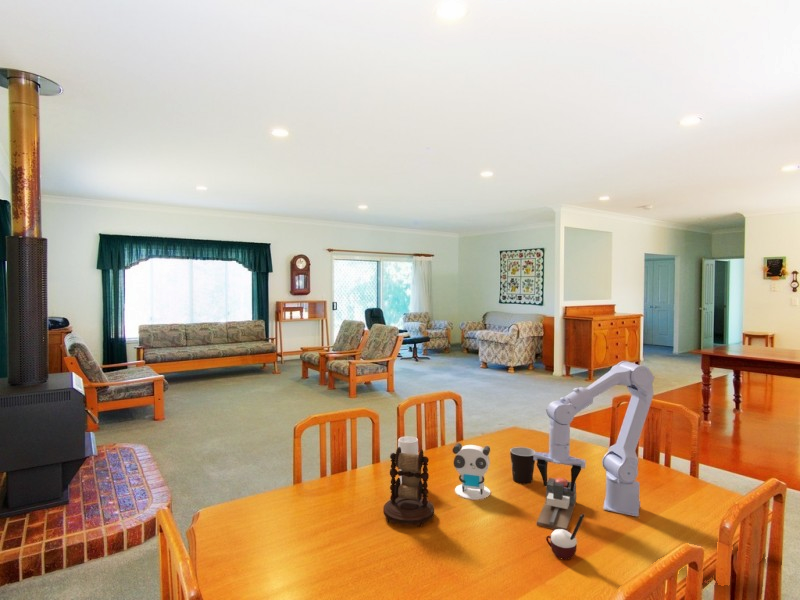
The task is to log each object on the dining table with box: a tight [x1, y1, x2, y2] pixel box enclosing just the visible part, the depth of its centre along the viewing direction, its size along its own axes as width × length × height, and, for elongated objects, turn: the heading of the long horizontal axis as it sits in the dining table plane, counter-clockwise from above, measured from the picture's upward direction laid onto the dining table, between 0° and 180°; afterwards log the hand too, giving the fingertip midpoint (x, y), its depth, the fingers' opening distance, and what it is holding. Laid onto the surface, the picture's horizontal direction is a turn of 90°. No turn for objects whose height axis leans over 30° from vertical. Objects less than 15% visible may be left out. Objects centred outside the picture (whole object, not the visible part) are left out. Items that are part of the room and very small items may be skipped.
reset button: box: [554, 477, 569, 488], centre depth 148 cm, size 4×4×2 cm
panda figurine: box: [452, 442, 491, 501], centre depth 155 cm, size 12×11×15 cm
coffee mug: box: [509, 446, 537, 485], centre depth 165 cm, size 12×9×10 cm
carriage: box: [545, 482, 570, 509], centre depth 142 cm, size 6×4×6 cm, turn 63°
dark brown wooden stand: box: [382, 446, 435, 528], centre depth 139 cm, size 15×15×20 cm
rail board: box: [536, 477, 577, 531], centre depth 141 cm, size 8×20×6 cm, turn 153°
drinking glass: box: [397, 435, 419, 485], centre depth 161 cm, size 7×7×15 cm
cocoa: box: [545, 513, 585, 560], centre depth 119 cm, size 10×6×12 cm, turn 22°
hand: (558, 487), depth 143 cm, fingers open, 7 cm apart
